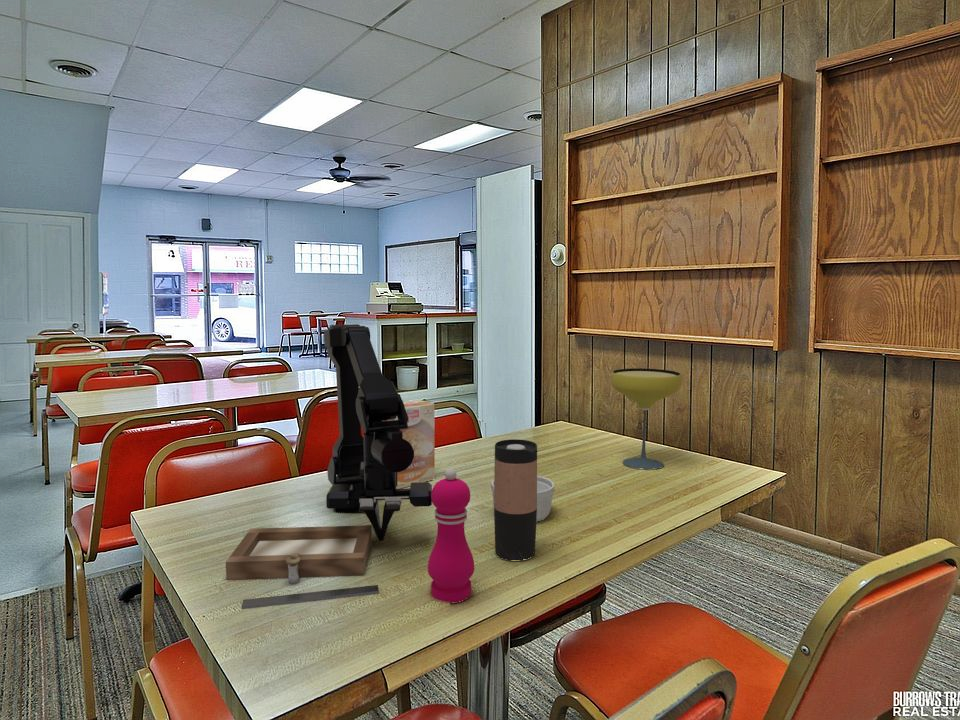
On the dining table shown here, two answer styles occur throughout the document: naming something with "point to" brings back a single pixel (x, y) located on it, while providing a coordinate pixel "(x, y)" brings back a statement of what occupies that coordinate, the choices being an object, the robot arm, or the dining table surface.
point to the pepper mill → (450, 541)
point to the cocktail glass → (645, 398)
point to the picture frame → (301, 552)
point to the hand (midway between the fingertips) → (381, 540)
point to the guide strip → (309, 596)
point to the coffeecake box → (419, 443)
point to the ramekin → (540, 496)
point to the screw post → (293, 573)
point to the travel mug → (515, 498)
